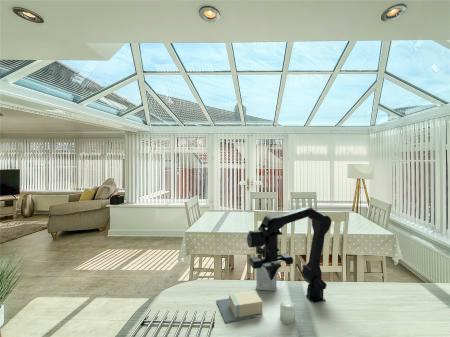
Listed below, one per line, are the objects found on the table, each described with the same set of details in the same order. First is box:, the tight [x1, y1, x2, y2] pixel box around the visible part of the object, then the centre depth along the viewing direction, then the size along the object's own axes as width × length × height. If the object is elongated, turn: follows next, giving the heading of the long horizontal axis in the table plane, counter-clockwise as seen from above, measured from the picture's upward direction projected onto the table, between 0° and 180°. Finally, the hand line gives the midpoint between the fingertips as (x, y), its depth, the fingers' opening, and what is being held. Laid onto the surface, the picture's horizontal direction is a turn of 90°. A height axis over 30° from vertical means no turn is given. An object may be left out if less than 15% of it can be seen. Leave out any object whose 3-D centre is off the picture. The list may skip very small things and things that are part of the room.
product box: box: [255, 257, 277, 292], centre depth 131 cm, size 10×6×14 cm, turn 81°
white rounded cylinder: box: [279, 300, 296, 325], centre depth 106 cm, size 6×6×6 cm
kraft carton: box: [228, 290, 264, 318], centre depth 112 cm, size 5×9×12 cm
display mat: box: [216, 297, 257, 324], centre depth 113 cm, size 13×16×1 cm
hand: (271, 279), depth 115 cm, fingers closed
